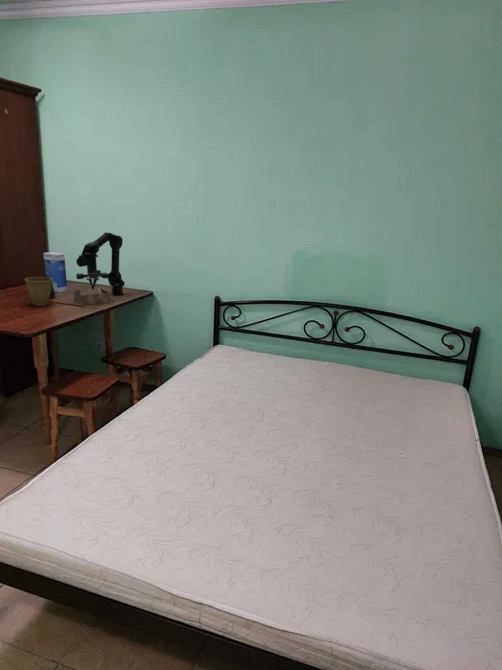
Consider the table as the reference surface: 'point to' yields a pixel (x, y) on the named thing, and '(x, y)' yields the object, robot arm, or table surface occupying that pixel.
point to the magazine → (52, 294)
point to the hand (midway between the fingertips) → (93, 289)
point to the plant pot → (39, 289)
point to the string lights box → (56, 270)
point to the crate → (92, 297)
